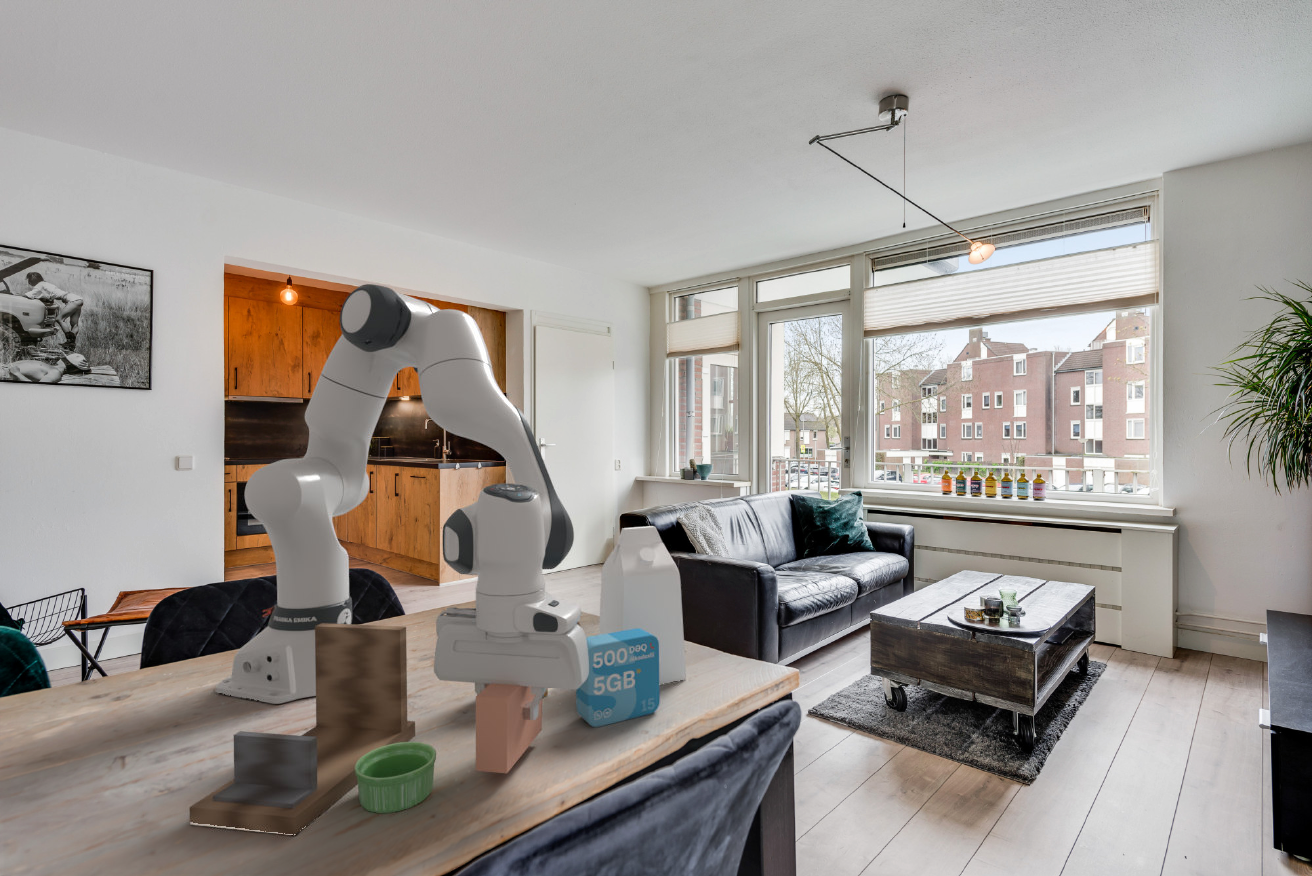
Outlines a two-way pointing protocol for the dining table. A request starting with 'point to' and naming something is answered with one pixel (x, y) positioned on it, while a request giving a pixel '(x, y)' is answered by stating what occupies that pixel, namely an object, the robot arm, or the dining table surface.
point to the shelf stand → (319, 735)
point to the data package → (620, 677)
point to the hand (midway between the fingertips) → (511, 716)
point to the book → (503, 726)
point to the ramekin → (395, 776)
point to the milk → (645, 596)
